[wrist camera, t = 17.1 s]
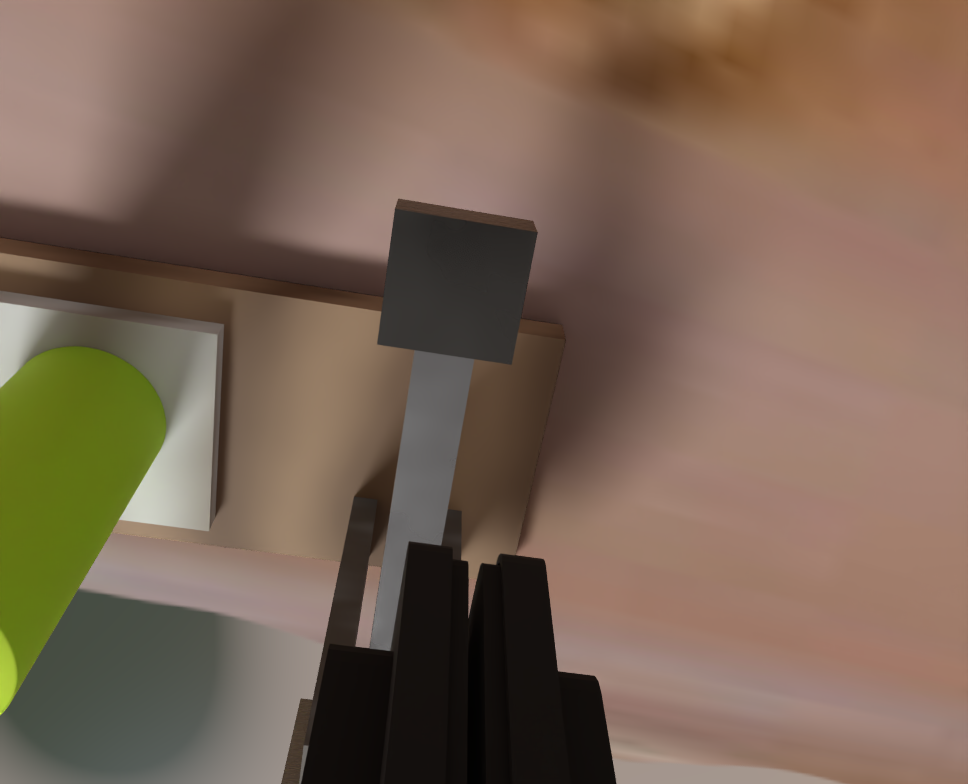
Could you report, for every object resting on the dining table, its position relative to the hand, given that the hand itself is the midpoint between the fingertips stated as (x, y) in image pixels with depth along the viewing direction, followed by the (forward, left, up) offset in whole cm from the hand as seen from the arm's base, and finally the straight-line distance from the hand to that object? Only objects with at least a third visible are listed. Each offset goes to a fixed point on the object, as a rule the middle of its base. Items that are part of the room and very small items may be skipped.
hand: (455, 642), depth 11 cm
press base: (+7, +11, -25) cm, 28 cm away
